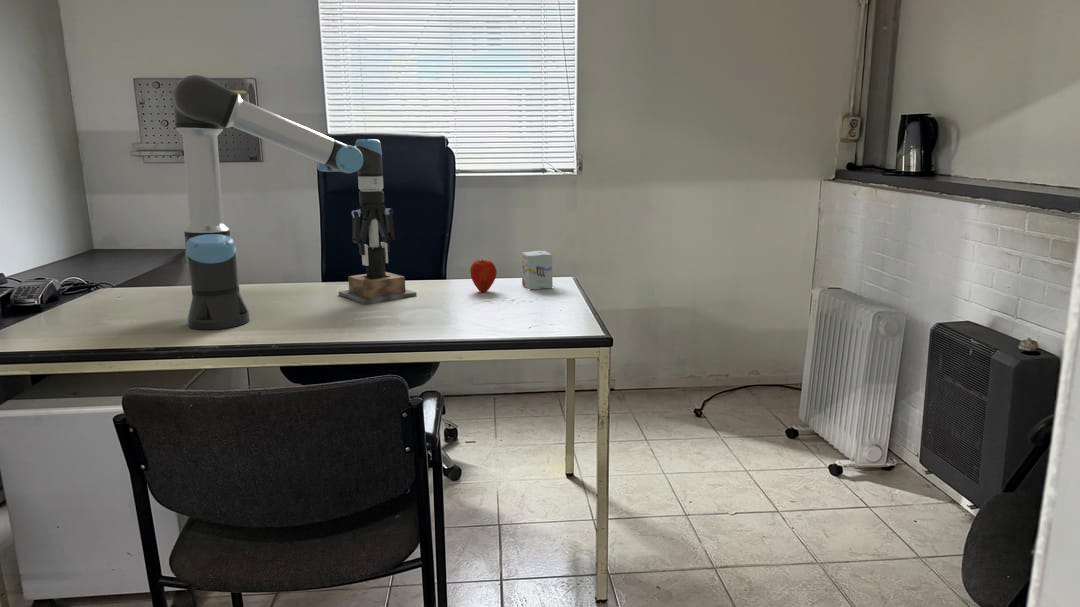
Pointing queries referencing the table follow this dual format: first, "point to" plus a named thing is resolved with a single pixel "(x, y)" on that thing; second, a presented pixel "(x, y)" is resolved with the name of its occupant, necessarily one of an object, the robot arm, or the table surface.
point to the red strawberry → (483, 274)
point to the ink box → (537, 269)
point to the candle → (375, 254)
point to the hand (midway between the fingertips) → (375, 263)
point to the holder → (376, 288)
